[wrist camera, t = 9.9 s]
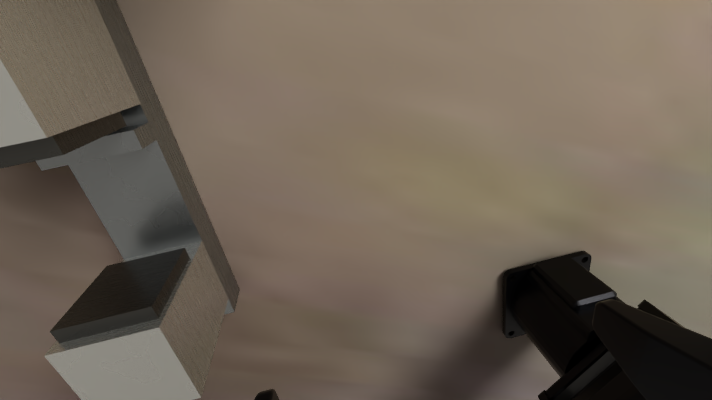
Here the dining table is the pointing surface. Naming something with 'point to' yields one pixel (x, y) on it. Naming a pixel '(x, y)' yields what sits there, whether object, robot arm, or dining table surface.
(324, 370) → the dining table surface
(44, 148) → the block
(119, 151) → the rail
